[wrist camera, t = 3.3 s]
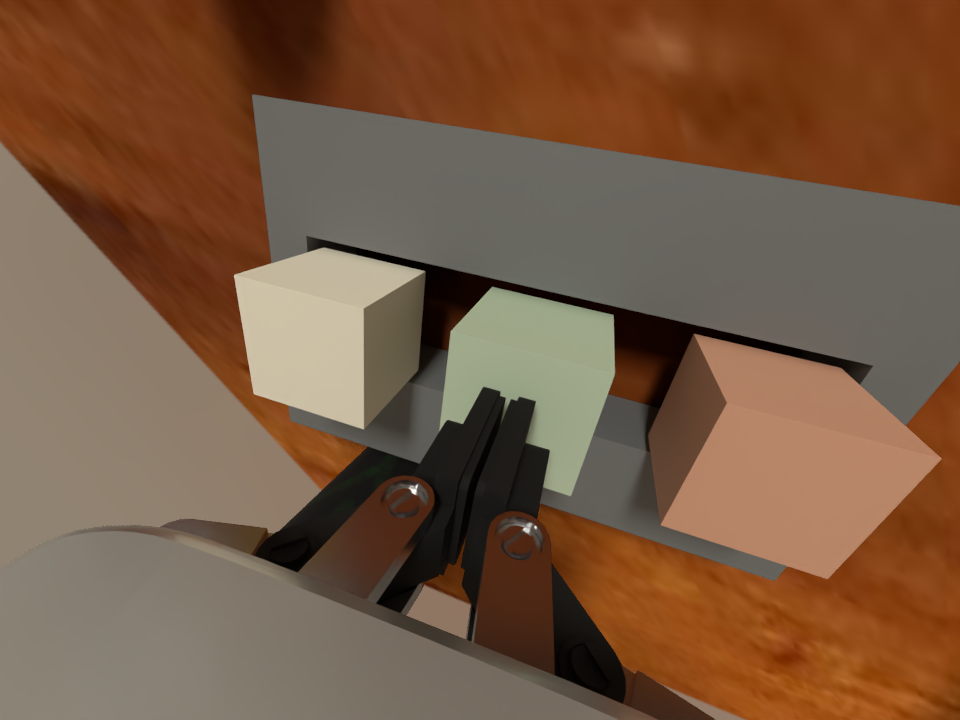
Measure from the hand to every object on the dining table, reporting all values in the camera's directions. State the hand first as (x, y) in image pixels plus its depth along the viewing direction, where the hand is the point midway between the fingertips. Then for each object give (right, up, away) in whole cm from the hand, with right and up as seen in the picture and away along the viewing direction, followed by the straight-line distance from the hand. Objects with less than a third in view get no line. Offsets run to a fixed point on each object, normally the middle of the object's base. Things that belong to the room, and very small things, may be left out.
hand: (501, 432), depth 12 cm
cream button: (-6, +5, +6) cm, 10 cm away
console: (+3, +4, +8) cm, 9 cm away
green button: (+2, +3, +5) cm, 6 cm away
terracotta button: (+9, 0, +4) cm, 10 cm away
